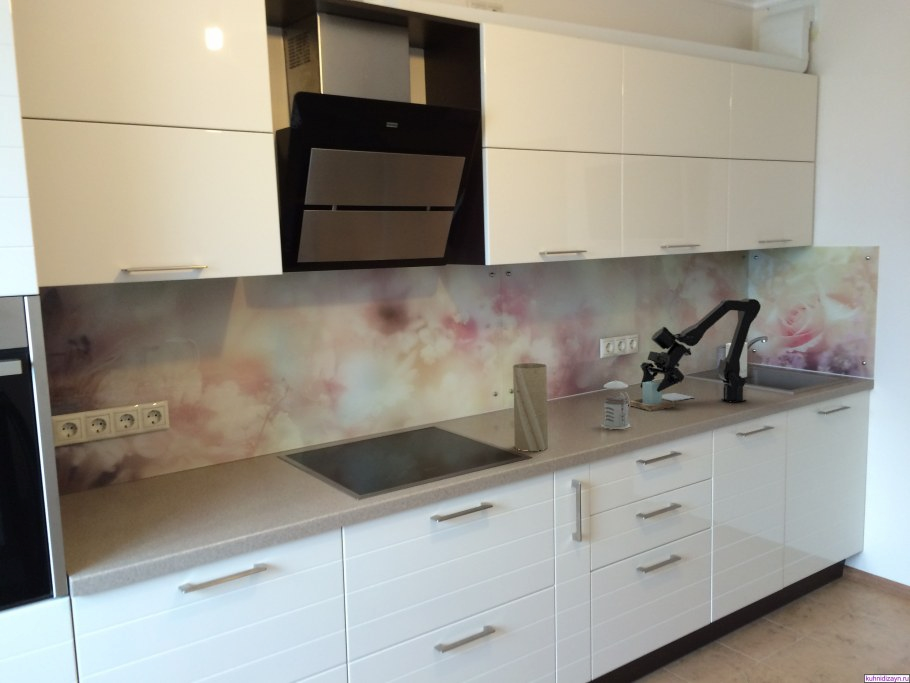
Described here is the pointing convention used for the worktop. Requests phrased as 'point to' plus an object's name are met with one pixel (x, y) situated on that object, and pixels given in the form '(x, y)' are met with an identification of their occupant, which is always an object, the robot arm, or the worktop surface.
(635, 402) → the walnut holder
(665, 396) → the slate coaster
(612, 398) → the french press
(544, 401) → the tube
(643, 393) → the grey-teal block
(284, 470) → the worktop surface
